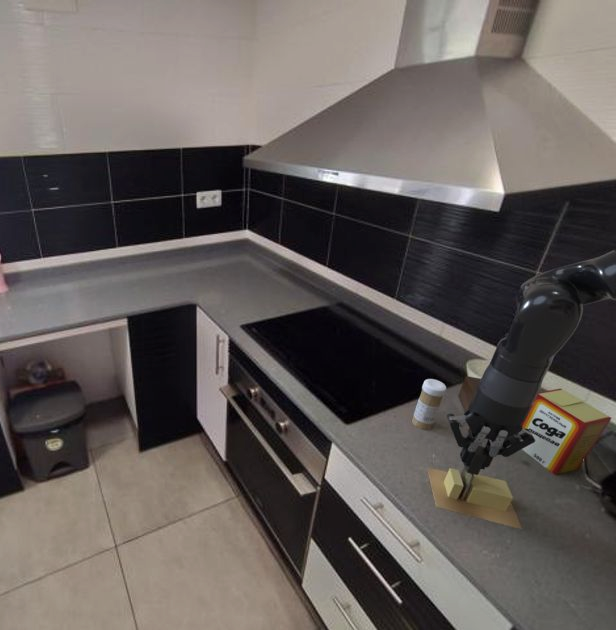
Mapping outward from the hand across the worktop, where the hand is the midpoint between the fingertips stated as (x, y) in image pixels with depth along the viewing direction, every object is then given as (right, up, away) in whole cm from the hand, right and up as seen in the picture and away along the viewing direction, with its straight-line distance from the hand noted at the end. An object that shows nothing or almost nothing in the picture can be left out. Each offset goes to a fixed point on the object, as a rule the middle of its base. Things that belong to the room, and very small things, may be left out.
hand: (472, 464), depth 72 cm
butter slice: (-1, -7, +4) cm, 8 cm away
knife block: (+20, +3, +26) cm, 34 cm away
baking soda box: (+25, -4, +13) cm, 28 cm away
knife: (0, -7, +4) cm, 8 cm away
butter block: (+4, -8, +3) cm, 9 cm away
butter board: (+2, -9, +4) cm, 10 cm away
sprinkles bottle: (+3, 0, +22) cm, 22 cm away
